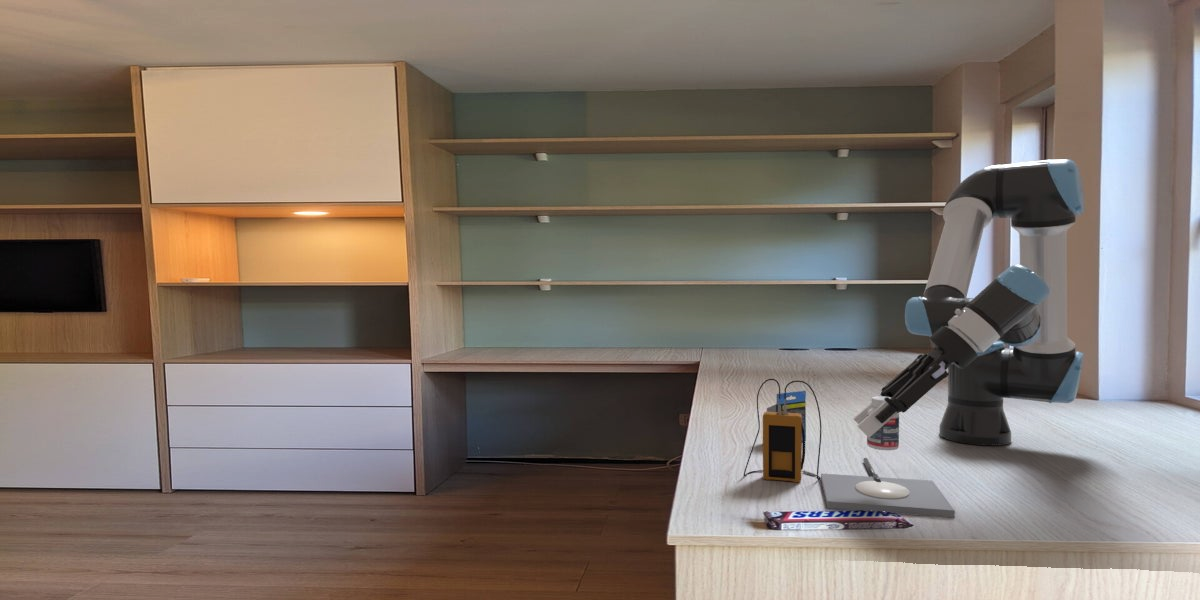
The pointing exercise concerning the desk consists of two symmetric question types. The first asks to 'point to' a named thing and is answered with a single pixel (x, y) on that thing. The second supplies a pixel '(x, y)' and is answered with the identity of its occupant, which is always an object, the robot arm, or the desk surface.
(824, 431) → the desk surface
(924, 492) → the board
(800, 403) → the label tape cartridge
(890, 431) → the pill bottle
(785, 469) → the multimeter
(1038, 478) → the desk surface
